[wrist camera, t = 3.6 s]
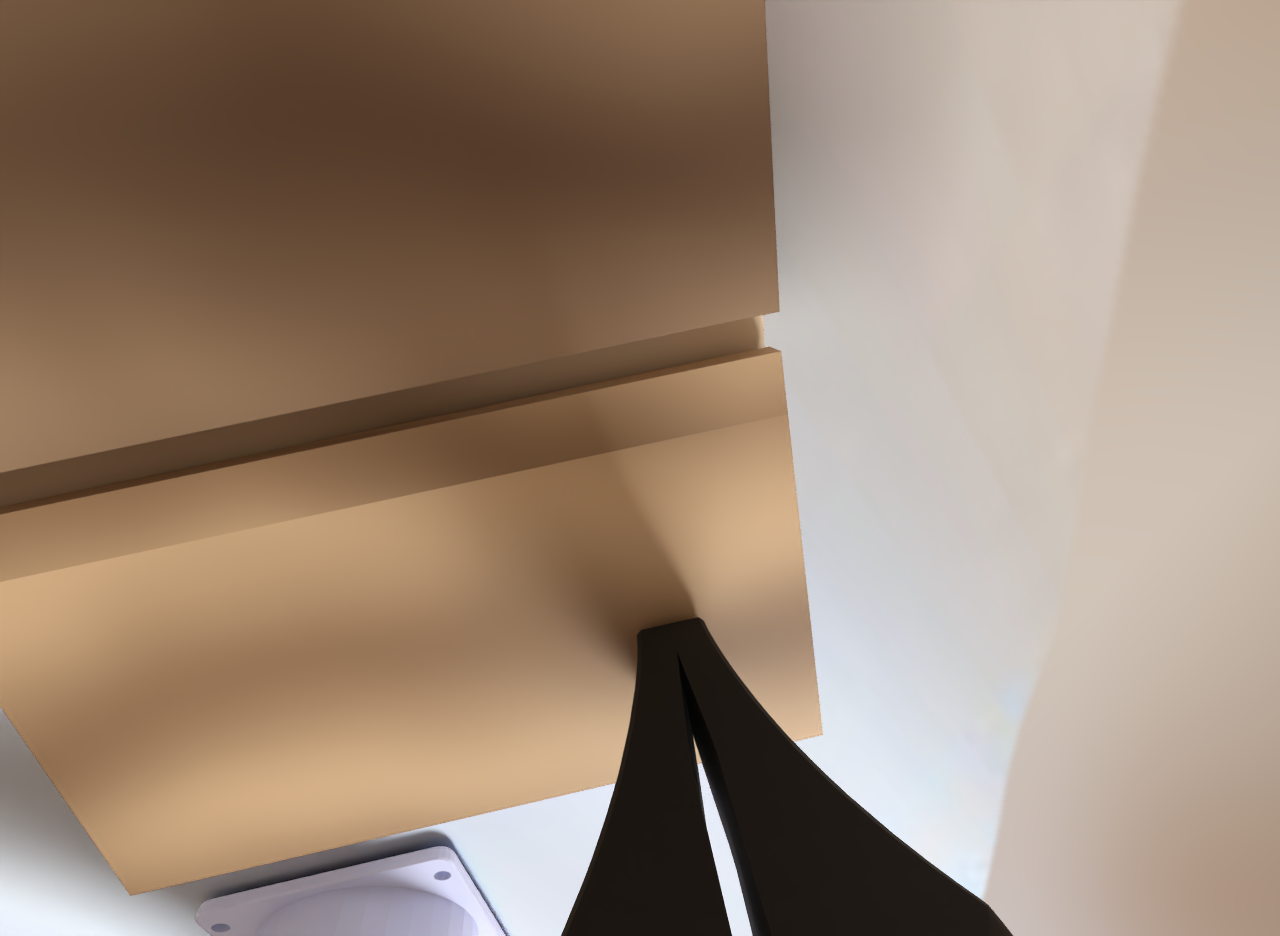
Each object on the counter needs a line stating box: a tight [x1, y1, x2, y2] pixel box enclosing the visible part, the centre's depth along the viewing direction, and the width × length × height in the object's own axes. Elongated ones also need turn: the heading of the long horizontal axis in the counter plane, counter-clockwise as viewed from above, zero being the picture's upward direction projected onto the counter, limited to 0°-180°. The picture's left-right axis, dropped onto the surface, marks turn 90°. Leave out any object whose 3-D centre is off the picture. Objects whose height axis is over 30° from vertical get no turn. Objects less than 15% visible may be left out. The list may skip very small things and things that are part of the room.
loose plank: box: [0, 347, 823, 896], centre depth 13 cm, size 9×16×1 cm, turn 99°
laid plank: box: [0, 0, 779, 507], centre depth 9 cm, size 9×16×1 cm, turn 100°
